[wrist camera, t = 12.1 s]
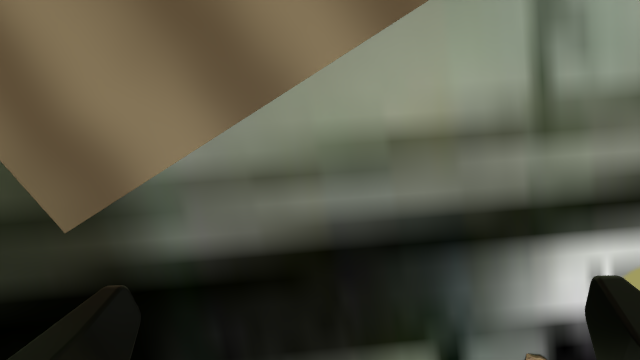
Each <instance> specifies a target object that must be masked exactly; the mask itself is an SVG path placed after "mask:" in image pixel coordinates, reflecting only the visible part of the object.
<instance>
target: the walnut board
mask: <svg viewBox="0 0 640 360" xmlns="http://www.w3.org/2000/svg"><path fill="white" fill-rule="evenodd" d="M427 1H428V0H0V161H1V162H2V163H3V164H4V166H5V167H6V168H7V169H8V170H9V171H10V172H11V173H12V174H13V176H14V177H15V178H16V179H17V180H18V181H19V182H20V183H21V185H22V186H23V187H24V188H25V189H26V190H27V191H28V192H29V194H30V195H31V196H32V197H33V198H34V199H35V200H36V201H37V202H38V204H39V205H40V206H41V207H42V208H43V209H44V210H45V211H46V213H47V214H48V215H49V216H50V217H51V218H52V219H53V220H54V222H55V223H56V224H57V225H58V226H59V227H60V228H61V229H62V231H63V232H64V233H67V232H68V231H70V230H71V229H73V228H74V227H76V226H77V225H79V224H81V223H82V222H84V221H85V220H87V219H88V218H90V217H91V216H93V215H95V214H96V213H98V212H99V211H101V210H102V209H104V208H106V207H107V206H109V205H110V204H112V203H113V202H115V201H116V200H118V199H120V198H121V197H123V196H124V195H126V194H127V193H129V192H130V191H132V190H134V189H135V188H137V187H138V186H140V185H141V184H143V183H145V182H146V181H148V180H149V179H151V178H152V177H154V176H155V175H157V174H159V173H160V172H162V171H163V170H165V169H166V168H168V167H169V166H171V165H173V164H174V163H176V162H177V161H179V160H180V159H182V158H183V157H185V156H187V155H188V154H190V153H191V152H193V151H194V150H196V149H198V148H199V147H201V146H202V145H204V144H205V143H207V142H208V141H210V140H212V139H213V138H215V137H216V136H218V135H219V134H221V133H222V132H224V131H226V130H227V129H229V128H230V127H232V126H233V125H235V124H237V123H238V122H240V121H241V120H243V119H244V118H246V117H247V116H249V115H251V114H252V113H254V112H255V111H257V110H258V109H260V108H261V107H263V106H265V105H266V104H268V103H269V102H271V101H272V100H274V99H275V98H277V97H279V96H280V95H282V94H283V93H285V92H286V91H288V90H290V89H291V88H293V87H294V86H296V85H297V84H299V83H300V82H302V81H304V80H305V79H307V78H308V77H310V76H311V75H313V74H314V73H316V72H318V71H319V70H321V69H322V68H324V67H325V66H327V65H329V64H330V63H332V62H333V61H335V60H336V59H338V58H339V57H341V56H343V55H344V54H346V53H347V52H349V51H350V50H352V49H353V48H355V47H357V46H358V45H360V44H361V43H363V42H364V41H366V40H368V39H369V38H371V37H372V36H374V35H375V34H377V33H378V32H380V31H382V30H383V29H385V28H386V27H388V26H389V25H391V24H392V23H394V22H396V21H397V20H399V19H400V18H402V17H403V16H405V15H406V14H408V13H410V12H411V11H413V10H414V9H416V8H417V7H419V6H421V5H422V4H424V3H425V2H427Z"/></svg>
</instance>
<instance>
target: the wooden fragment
mask: <svg viewBox="0 0 640 360" xmlns="http://www.w3.org/2000/svg"><path fill="white" fill-rule="evenodd" d="M526 360H546V359H545V358H543V357H541V356H539V355H531V354H527V355H526Z"/></svg>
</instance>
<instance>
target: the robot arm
mask: <svg viewBox="0 0 640 360" xmlns="http://www.w3.org/2000/svg"><path fill="white" fill-rule="evenodd" d="M585 316H586V322H587V325H588V329H589V333H590V337H591V340H592V344H593V348H594V351H595V355H596V359H597V360H640V291H639V290H638V289H637V288H635V287H634V286H633V285H631V284H630V283H629V282H628V281H626V280H625V279H624V278H622V277H620V276H595V277H594V278H593V279H592V281H591V284H590V288H589V293H588V297H587V302H586V306H585ZM140 323H141V312H140V309H139V307H138V305H137V304H136V302H135V300H134V298H133V296H132V294H131V293H130V291H129V289H128V288H127V287H126V286H123V285H113V286H106V287H104V288H102V289H101V290H99V291H98V292H97V293H95V294H94V295H93V296H91V297H90V298H89V299H87V300H86V301H85V302H83V303H82V304H81V305H79V306H78V307H77V308H75V309H74V310H73V311H71V312H70V313H69V314H67V315H66V316H65V317H64V318H62V319H61V320H60V321H58V322H57V323H56V324H54V325H53V326H52V327H50V328H49V329H48V330H46V331H45V332H44V333H42V334H41V335H40V336H38V337H37V338H36V339H34V340H33V341H32V342H30V343H29V344H28V345H26V346H25V347H24V348H22V349H21V350H20V351H18V352H17V353H16V354H14V355H13V356H12V357H10V358H9V359H8V360H130V358H131V355H132V351H133V348H134V344H135V341H136V337H137V334H138V330H139V327H140Z"/></svg>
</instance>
